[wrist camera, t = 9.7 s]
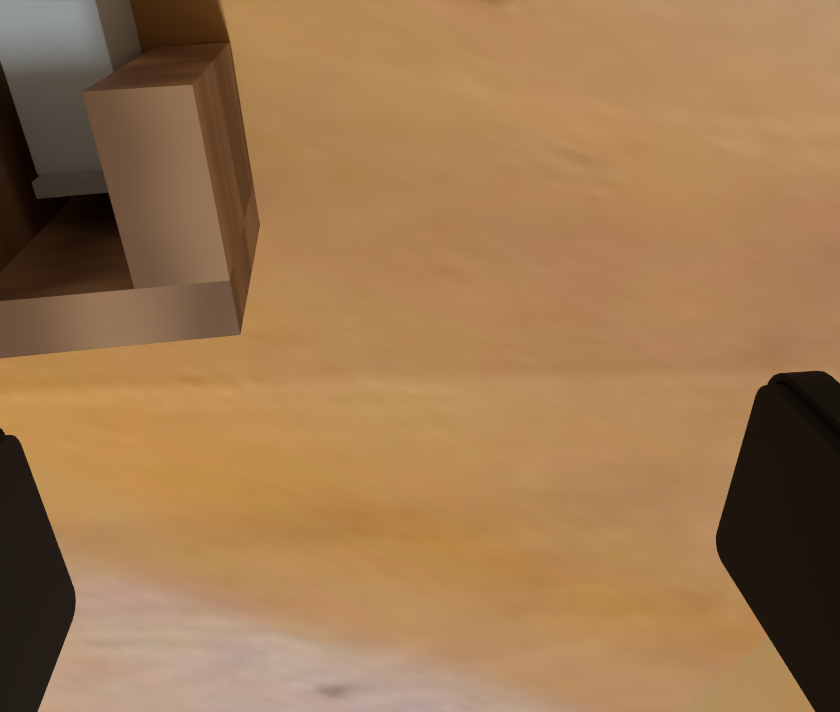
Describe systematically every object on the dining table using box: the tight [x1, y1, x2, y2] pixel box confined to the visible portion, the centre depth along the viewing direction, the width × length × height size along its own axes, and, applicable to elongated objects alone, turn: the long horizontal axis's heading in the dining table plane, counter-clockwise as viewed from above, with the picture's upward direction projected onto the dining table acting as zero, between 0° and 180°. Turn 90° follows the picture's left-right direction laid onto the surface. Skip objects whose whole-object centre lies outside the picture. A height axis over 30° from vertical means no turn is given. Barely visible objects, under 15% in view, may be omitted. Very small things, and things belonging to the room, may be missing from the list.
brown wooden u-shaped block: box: [0, 42, 260, 358], centre depth 26 cm, size 11×8×11 cm
